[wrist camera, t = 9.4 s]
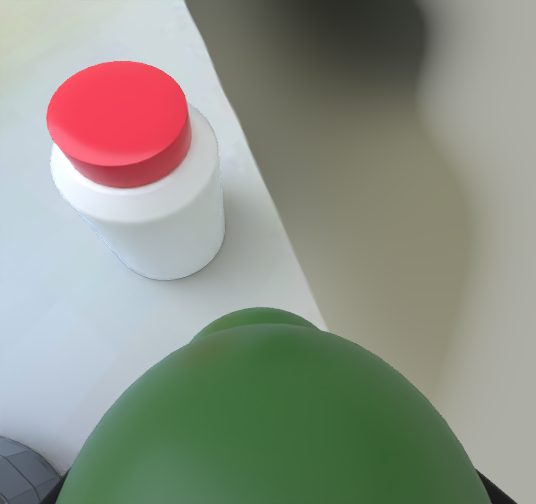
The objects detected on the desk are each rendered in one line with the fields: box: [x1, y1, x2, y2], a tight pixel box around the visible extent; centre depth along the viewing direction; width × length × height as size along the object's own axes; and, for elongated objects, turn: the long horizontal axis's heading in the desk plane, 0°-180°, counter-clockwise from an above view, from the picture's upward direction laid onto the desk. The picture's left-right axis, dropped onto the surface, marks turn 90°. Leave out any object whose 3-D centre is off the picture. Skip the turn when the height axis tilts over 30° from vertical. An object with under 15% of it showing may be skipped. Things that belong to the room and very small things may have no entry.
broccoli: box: [55, 307, 492, 504], centre depth 8 cm, size 6×5×13 cm
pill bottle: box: [46, 61, 225, 280], centre depth 19 cm, size 8×8×11 cm
